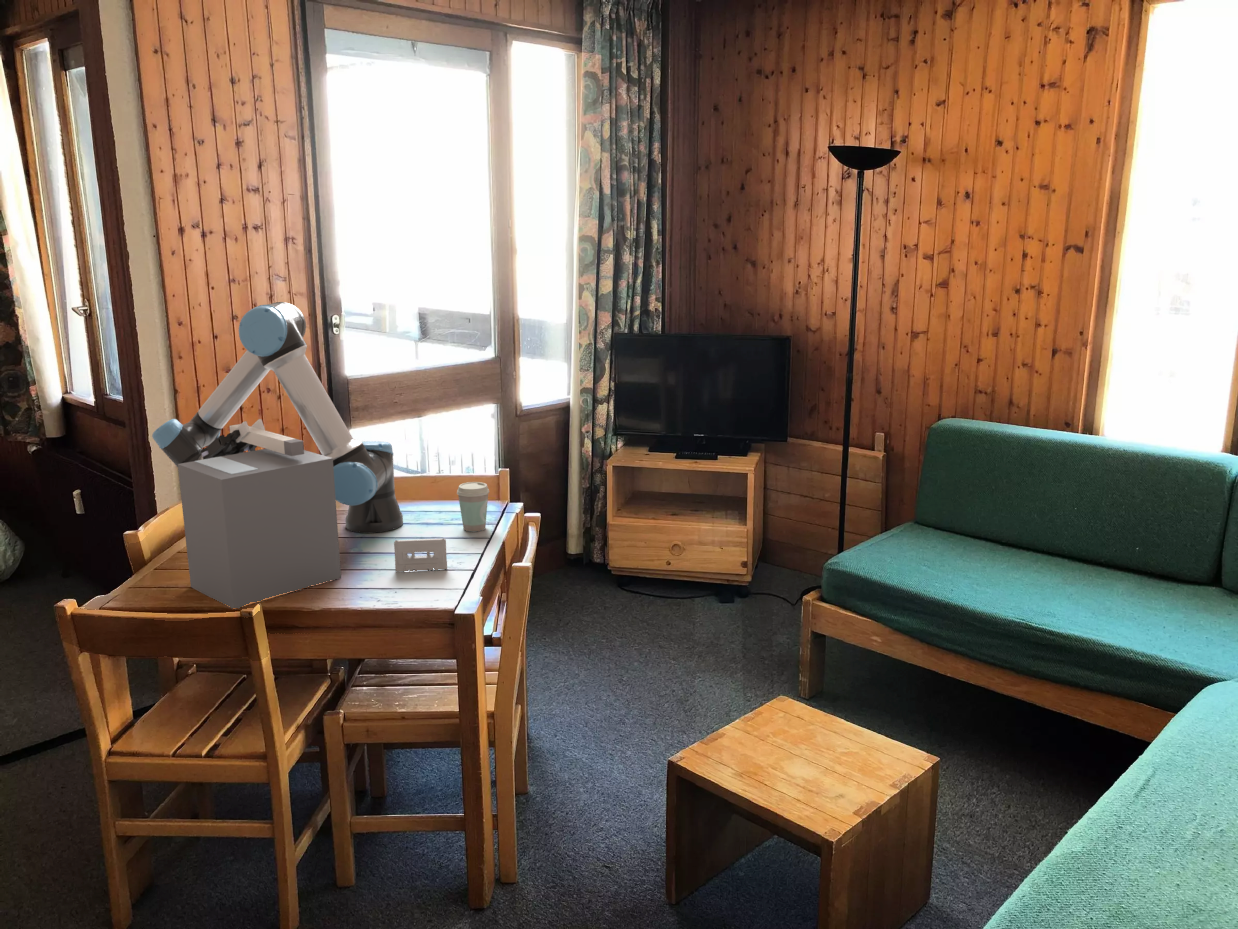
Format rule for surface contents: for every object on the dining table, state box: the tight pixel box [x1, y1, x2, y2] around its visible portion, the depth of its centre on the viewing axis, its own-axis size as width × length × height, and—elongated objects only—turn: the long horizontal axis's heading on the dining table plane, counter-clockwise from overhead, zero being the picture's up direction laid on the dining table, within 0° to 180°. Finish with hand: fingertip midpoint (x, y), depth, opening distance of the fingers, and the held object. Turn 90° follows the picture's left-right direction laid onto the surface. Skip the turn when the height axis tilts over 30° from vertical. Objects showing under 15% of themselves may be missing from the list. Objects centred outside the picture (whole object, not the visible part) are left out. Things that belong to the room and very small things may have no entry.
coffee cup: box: [456, 481, 490, 532], centre depth 266 cm, size 9×8×12 cm
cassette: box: [393, 538, 448, 572], centre depth 235 cm, size 12×2×8 cm, turn 97°
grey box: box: [177, 448, 342, 609], centre depth 224 cm, size 20×26×29 cm
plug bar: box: [229, 423, 305, 456], centre depth 230 cm, size 28×3×3 cm, turn 47°
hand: (254, 425), depth 232 cm, fingers closed on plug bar, 3 cm apart
